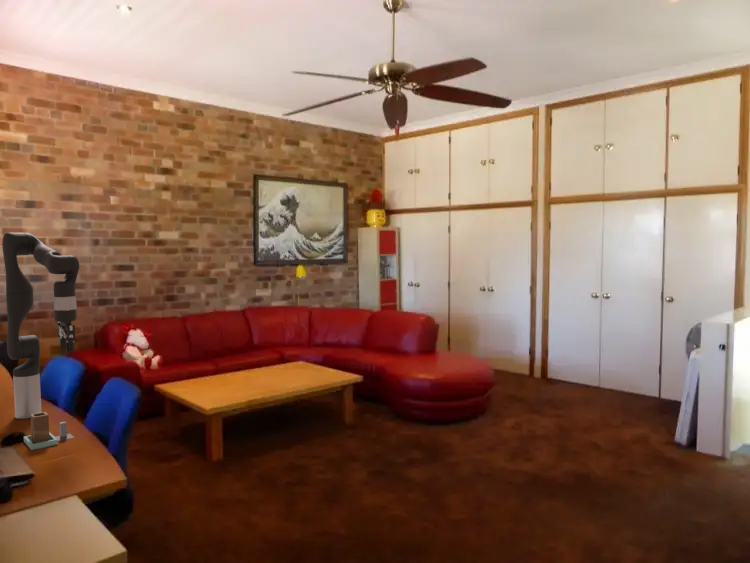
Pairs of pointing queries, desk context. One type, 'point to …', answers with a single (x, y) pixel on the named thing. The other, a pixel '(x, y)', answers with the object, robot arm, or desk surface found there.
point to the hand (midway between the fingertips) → (67, 350)
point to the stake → (63, 432)
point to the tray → (40, 445)
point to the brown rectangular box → (39, 427)
